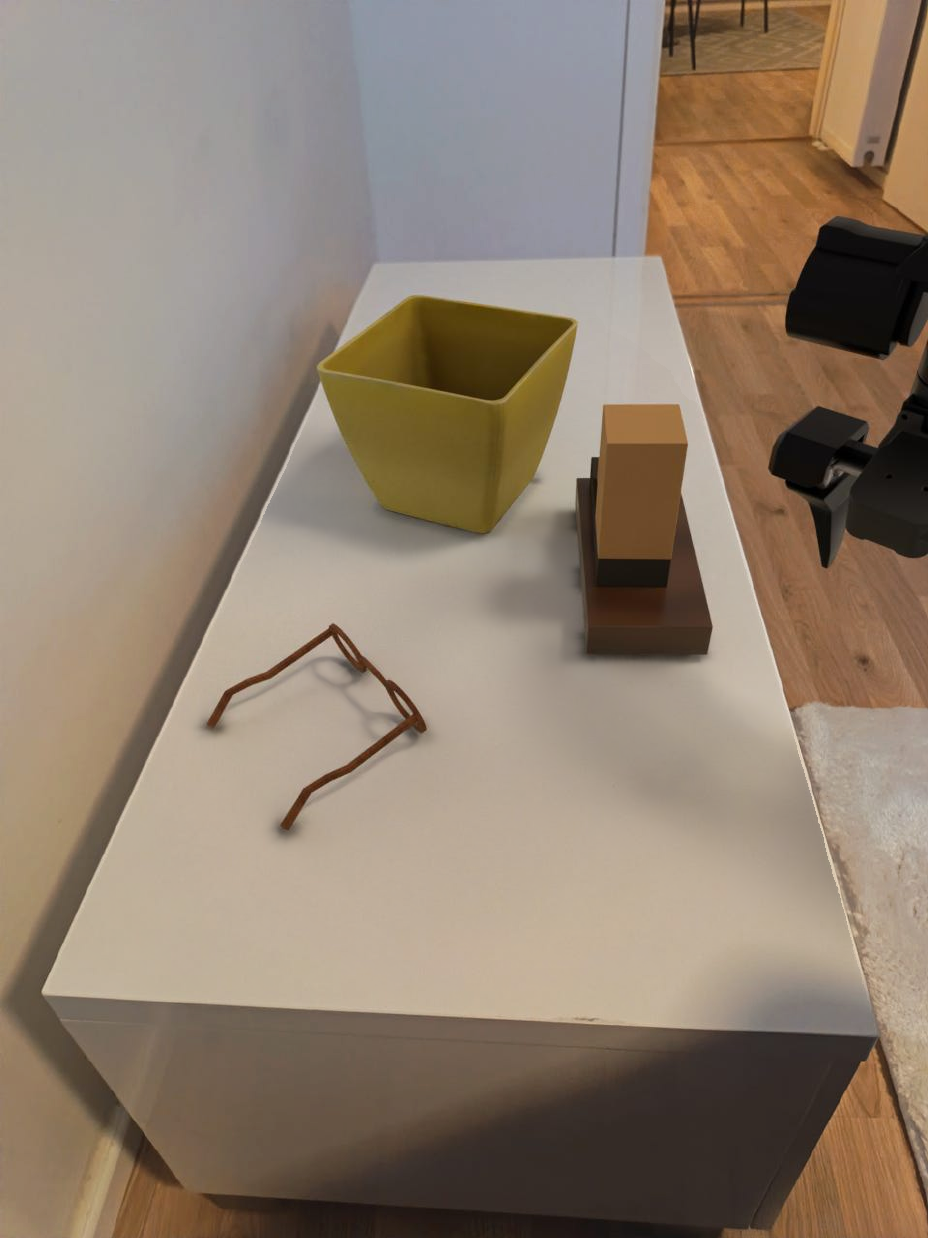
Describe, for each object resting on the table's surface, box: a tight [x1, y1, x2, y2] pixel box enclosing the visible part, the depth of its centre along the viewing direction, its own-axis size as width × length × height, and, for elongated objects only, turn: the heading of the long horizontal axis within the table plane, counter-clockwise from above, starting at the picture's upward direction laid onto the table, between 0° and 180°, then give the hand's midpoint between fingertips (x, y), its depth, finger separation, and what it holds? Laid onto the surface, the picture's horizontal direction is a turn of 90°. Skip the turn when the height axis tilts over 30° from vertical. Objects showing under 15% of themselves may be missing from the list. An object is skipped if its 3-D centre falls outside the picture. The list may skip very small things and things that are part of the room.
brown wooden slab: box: [574, 477, 714, 656], centre depth 80 cm, size 22×10×4 cm, turn 177°
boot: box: [589, 403, 689, 587], centre depth 75 cm, size 16×6×14 cm, turn 176°
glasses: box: [206, 622, 428, 831], centre depth 67 cm, size 13×13×5 cm
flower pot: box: [316, 294, 579, 534], centre depth 88 cm, size 19×19×17 cm
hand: (892, 592), depth 59 cm, fingers open, 9 cm apart
